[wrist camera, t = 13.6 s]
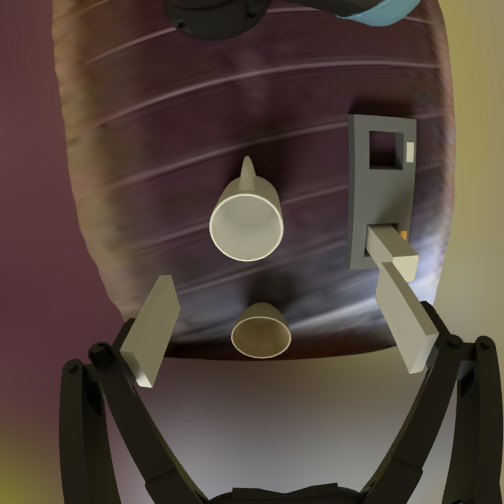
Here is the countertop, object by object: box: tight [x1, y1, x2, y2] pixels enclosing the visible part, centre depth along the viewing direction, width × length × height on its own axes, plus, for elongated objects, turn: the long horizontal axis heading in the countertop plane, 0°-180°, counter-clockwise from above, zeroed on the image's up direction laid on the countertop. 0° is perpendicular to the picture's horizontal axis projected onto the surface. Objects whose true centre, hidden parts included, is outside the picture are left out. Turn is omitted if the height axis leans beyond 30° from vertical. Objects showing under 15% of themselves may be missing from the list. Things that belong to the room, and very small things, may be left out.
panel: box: [345, 114, 416, 270], centre depth 39 cm, size 24×10×3 cm, turn 5°
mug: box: [210, 156, 283, 261], centre depth 37 cm, size 9×12×11 cm
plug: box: [365, 223, 419, 282], centre depth 38 cm, size 5×4×12 cm
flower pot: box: [231, 302, 291, 358], centre depth 49 cm, size 10×10×7 cm
